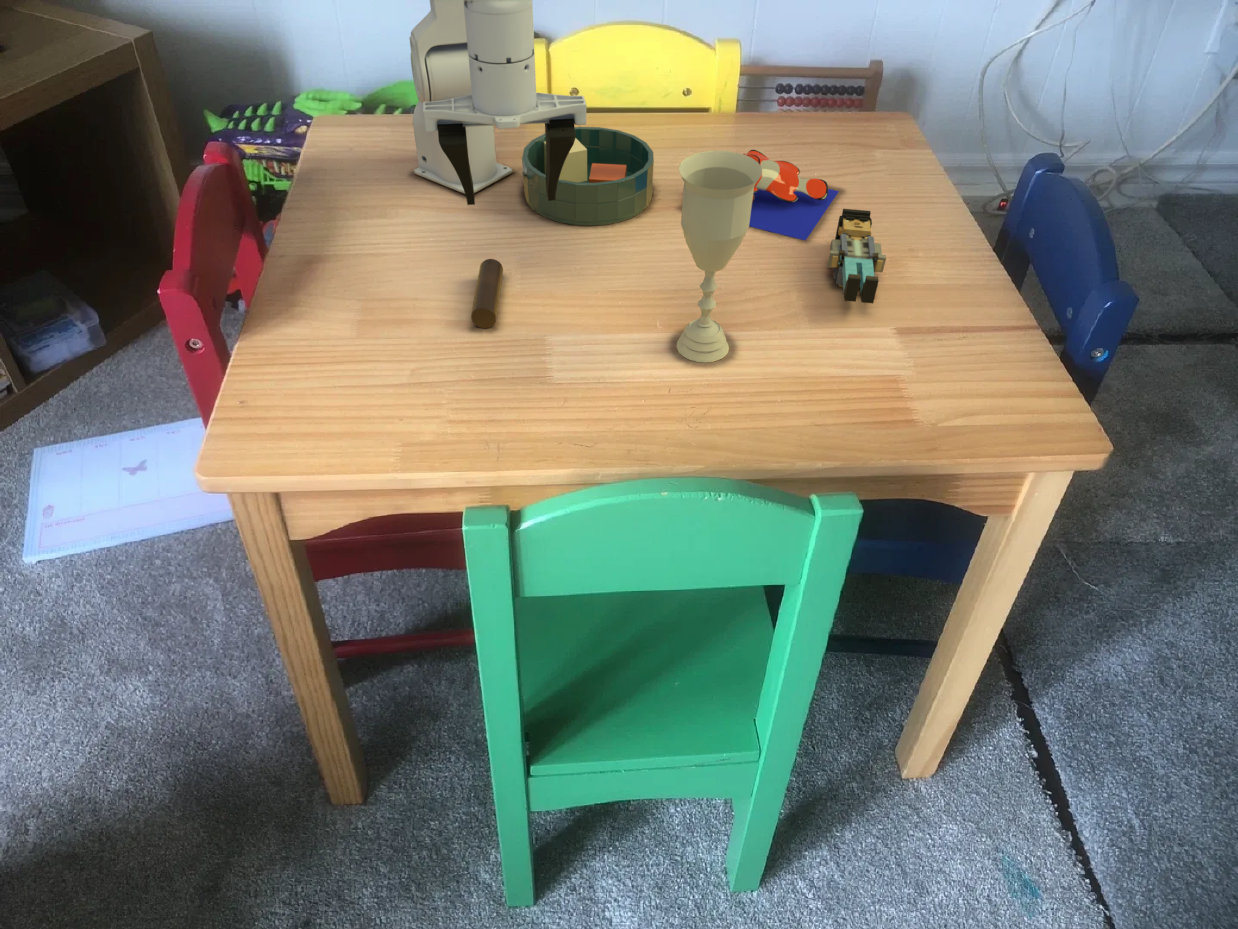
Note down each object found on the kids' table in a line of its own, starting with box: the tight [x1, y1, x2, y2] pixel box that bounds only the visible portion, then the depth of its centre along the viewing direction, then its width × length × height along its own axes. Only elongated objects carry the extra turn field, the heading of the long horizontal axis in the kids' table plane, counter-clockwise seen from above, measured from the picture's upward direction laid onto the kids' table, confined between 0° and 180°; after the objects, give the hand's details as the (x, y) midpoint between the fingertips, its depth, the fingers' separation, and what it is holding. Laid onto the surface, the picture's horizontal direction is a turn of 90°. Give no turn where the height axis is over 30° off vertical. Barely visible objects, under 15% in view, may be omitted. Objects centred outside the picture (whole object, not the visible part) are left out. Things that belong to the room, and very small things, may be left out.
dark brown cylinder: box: [470, 258, 504, 329], centre depth 92 cm, size 2×2×9 cm
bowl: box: [521, 126, 655, 227], centre depth 108 cm, size 15×15×5 cm
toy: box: [827, 208, 887, 304], centre depth 96 cm, size 6×4×15 cm
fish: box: [742, 149, 830, 204], centre depth 108 cm, size 13×5×9 cm
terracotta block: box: [589, 163, 626, 183], centre depth 106 cm, size 4×4×4 cm
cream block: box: [544, 138, 587, 182], centre depth 111 cm, size 4×4×4 cm
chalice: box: [676, 150, 762, 363], centre depth 82 cm, size 7×7×18 cm
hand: (511, 197), depth 88 cm, fingers open, 7 cm apart
